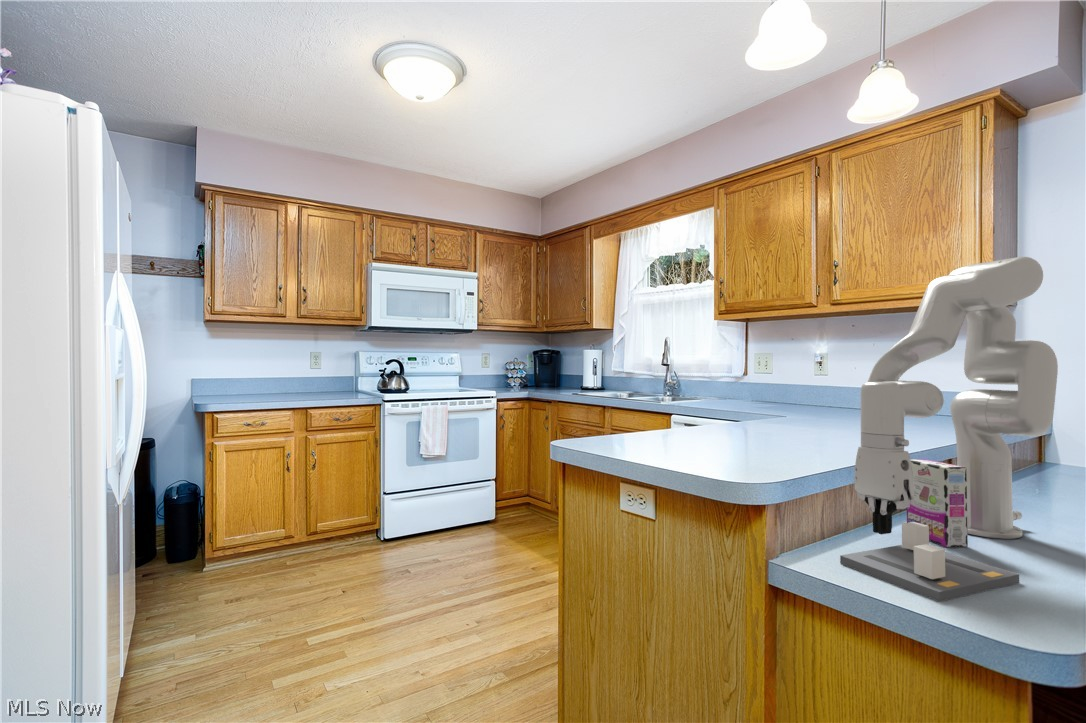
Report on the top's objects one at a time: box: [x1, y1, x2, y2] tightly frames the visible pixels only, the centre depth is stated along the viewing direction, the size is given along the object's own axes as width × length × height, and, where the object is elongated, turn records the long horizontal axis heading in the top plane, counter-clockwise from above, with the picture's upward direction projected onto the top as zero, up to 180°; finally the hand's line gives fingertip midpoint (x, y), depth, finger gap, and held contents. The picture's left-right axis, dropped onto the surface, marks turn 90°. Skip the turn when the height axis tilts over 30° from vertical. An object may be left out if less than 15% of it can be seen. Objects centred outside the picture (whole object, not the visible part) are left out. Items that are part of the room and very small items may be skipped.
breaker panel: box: [839, 544, 1020, 602], centre depth 97 cm, size 20×18×2 cm
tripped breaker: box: [901, 522, 930, 550], centre depth 104 cm, size 3×3×4 cm
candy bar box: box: [906, 458, 969, 548], centre depth 115 cm, size 11×5×16 cm, turn 5°
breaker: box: [914, 544, 946, 579], centre depth 91 cm, size 3×3×4 cm
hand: (882, 532), depth 110 cm, fingers closed
